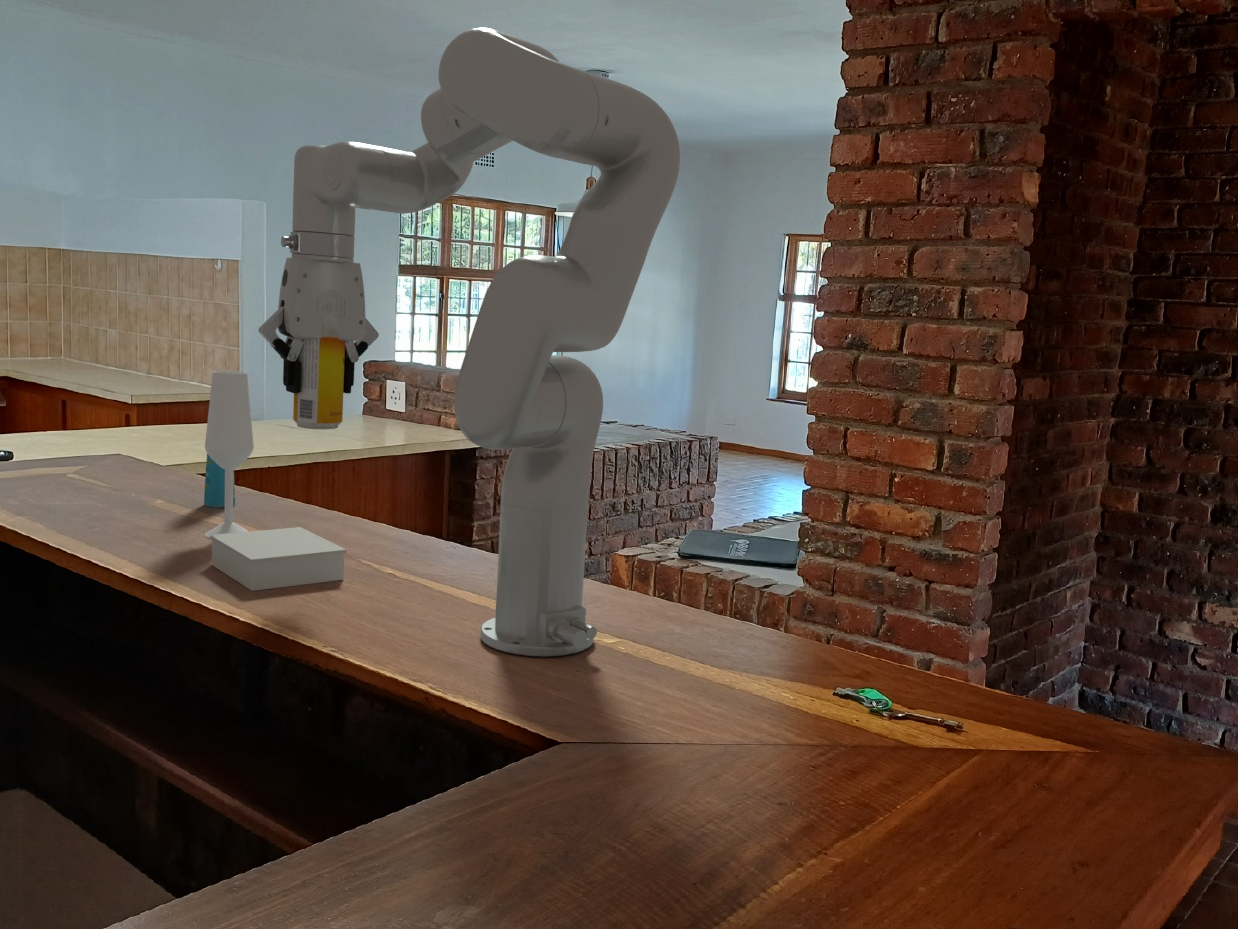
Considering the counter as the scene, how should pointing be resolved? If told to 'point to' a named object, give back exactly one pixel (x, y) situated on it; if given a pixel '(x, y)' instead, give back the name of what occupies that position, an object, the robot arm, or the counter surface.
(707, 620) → the counter surface
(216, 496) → the tube
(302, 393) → the beer can
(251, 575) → the riser
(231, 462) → the champagne flute
